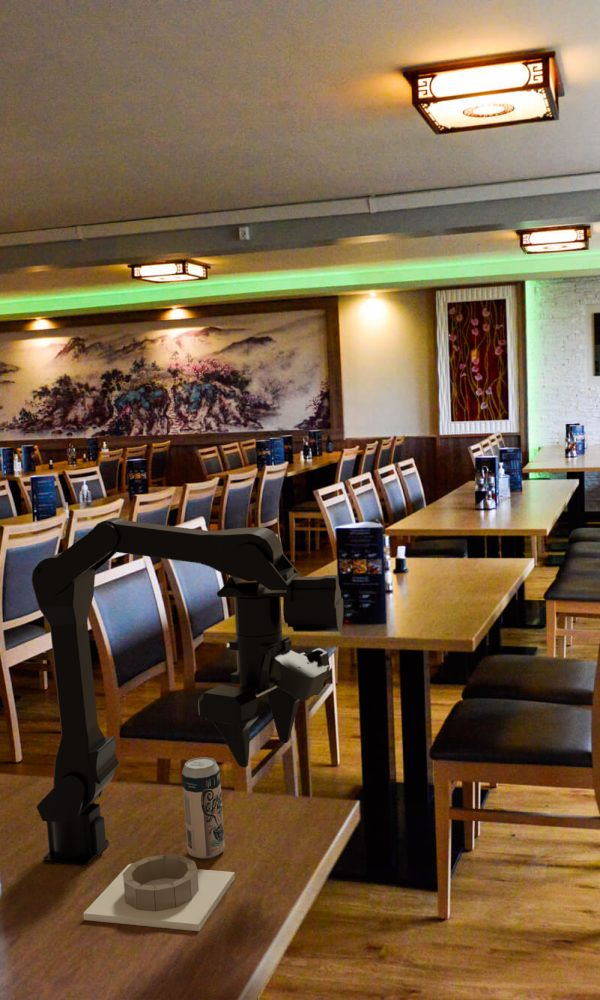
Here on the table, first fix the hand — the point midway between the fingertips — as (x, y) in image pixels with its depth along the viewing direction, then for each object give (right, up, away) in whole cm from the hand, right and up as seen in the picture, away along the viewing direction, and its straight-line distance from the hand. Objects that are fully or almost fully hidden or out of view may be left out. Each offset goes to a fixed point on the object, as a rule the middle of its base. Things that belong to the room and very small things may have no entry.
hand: (264, 754), depth 121 cm
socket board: (-12, -15, -7) cm, 20 cm away
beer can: (-8, -14, +5) cm, 17 cm away
